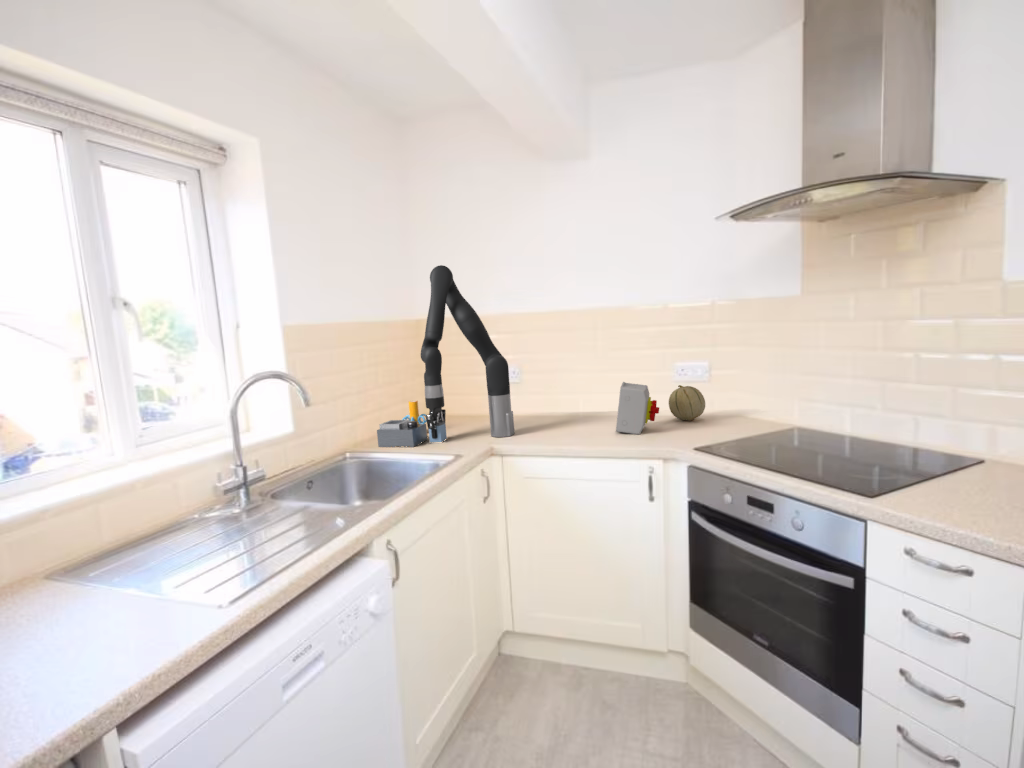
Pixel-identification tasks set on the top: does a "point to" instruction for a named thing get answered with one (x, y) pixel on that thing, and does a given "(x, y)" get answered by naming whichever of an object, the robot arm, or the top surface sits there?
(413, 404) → the cylinder
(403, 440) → the grey boxy piece
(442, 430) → the grey lidded box
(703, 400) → the cantaloupe
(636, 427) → the electrical switch box
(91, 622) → the top surface
